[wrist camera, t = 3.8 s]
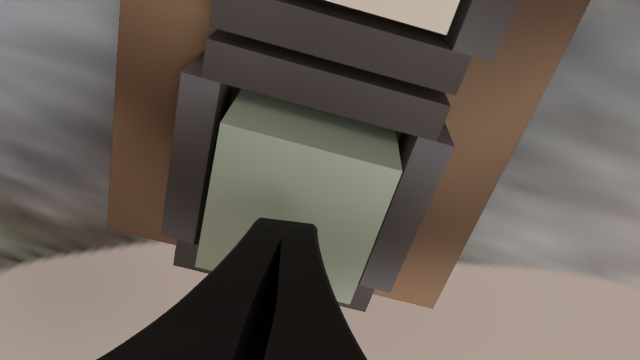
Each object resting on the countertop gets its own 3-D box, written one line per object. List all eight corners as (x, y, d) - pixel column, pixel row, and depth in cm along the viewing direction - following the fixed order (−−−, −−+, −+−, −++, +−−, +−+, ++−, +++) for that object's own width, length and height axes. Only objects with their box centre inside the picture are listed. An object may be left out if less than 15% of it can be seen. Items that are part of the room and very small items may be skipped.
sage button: (241, 89, 14) (220, 123, 11) (395, 130, 14) (402, 171, 12) (216, 218, 16) (195, 266, 14) (350, 252, 16) (349, 304, 14)
